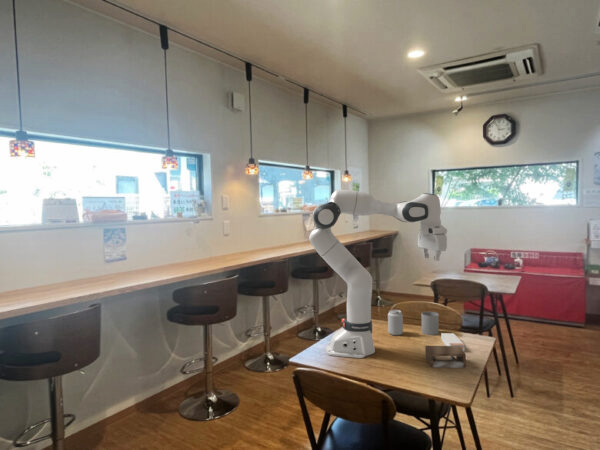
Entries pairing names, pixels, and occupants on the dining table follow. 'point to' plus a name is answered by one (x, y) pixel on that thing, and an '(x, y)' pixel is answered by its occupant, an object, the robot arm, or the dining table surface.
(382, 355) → the dining table surface
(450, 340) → the white and orange box
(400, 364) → the dining table surface
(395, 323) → the can
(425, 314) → the cup
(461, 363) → the cabinet
